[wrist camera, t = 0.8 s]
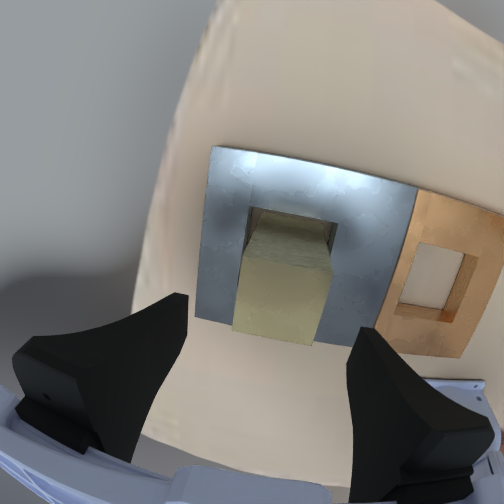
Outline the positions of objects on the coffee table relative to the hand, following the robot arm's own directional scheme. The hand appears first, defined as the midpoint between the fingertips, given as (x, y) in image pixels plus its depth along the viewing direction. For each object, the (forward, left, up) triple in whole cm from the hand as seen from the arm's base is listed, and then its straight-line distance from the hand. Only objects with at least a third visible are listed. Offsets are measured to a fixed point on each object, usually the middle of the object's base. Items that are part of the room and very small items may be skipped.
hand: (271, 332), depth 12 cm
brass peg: (0, 0, -10) cm, 10 cm away
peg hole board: (-6, 0, -10) cm, 11 cm away
